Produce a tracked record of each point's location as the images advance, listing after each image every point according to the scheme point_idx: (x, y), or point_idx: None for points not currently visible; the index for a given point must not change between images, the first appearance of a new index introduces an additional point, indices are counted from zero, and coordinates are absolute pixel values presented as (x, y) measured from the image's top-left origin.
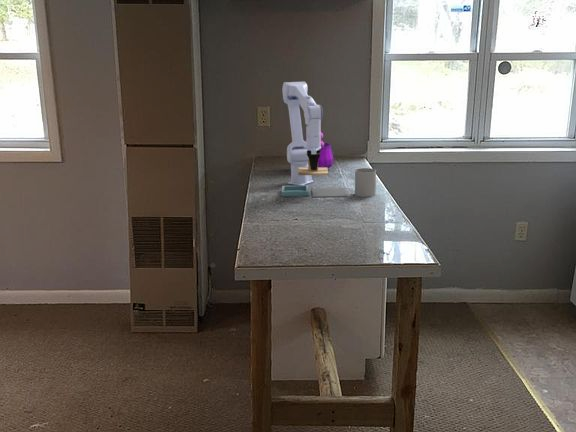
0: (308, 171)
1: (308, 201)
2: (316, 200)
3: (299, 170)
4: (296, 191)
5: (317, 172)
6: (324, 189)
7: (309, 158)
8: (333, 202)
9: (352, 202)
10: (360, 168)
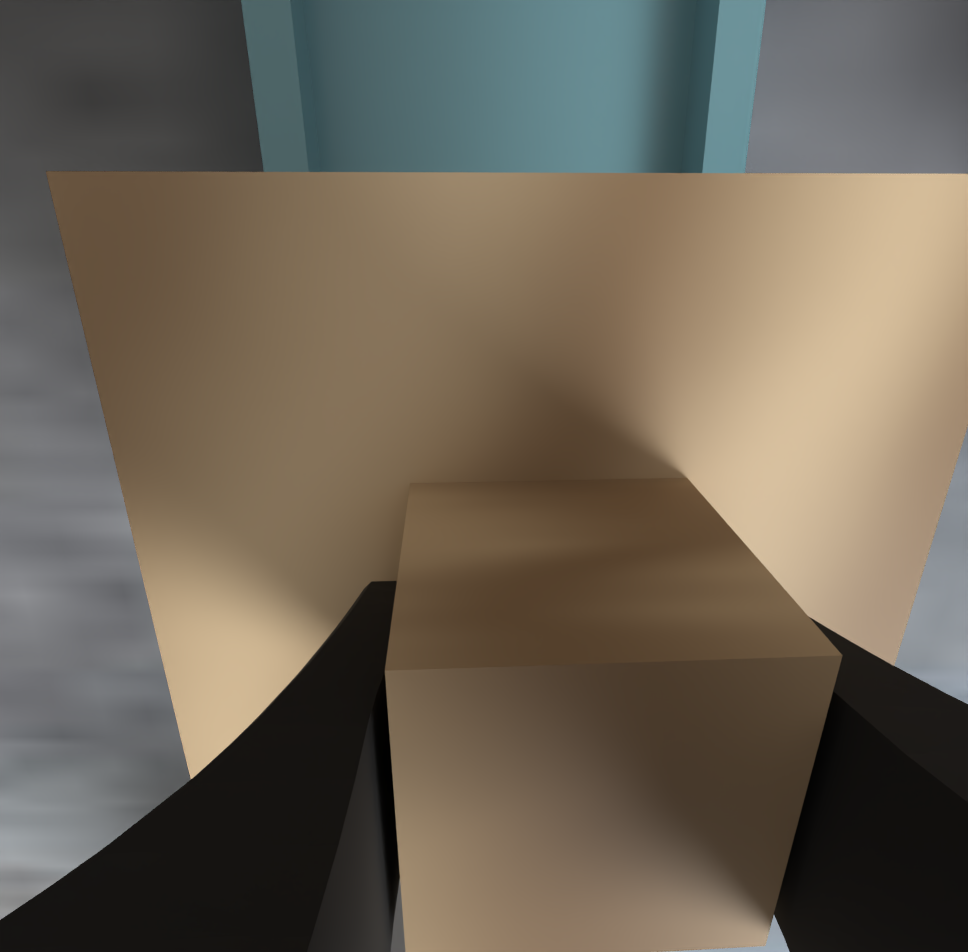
0: (368, 490)
1: (18, 352)
2: (98, 458)
3: (518, 211)
4: (289, 149)
5: (261, 695)
6: None
7: (67, 906)
8: (39, 646)
9: (84, 809)
10: None
